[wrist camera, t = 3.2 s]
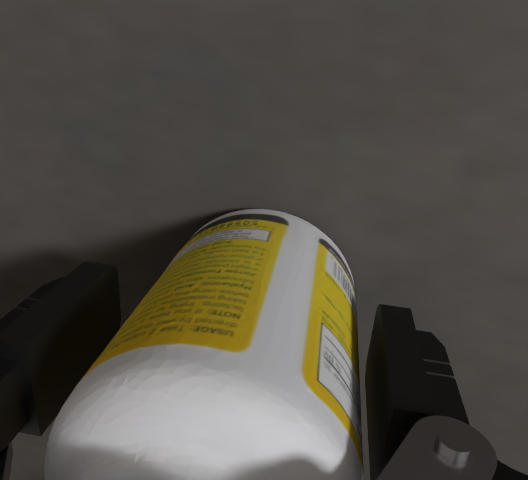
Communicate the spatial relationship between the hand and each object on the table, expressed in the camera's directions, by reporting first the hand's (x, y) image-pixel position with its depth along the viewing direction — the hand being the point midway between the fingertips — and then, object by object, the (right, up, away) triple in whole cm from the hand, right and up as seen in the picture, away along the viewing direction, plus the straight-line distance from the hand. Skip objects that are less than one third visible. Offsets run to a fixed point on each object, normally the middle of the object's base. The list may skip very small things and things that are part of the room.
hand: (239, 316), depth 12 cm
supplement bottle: (+1, +1, +2) cm, 2 cm away
